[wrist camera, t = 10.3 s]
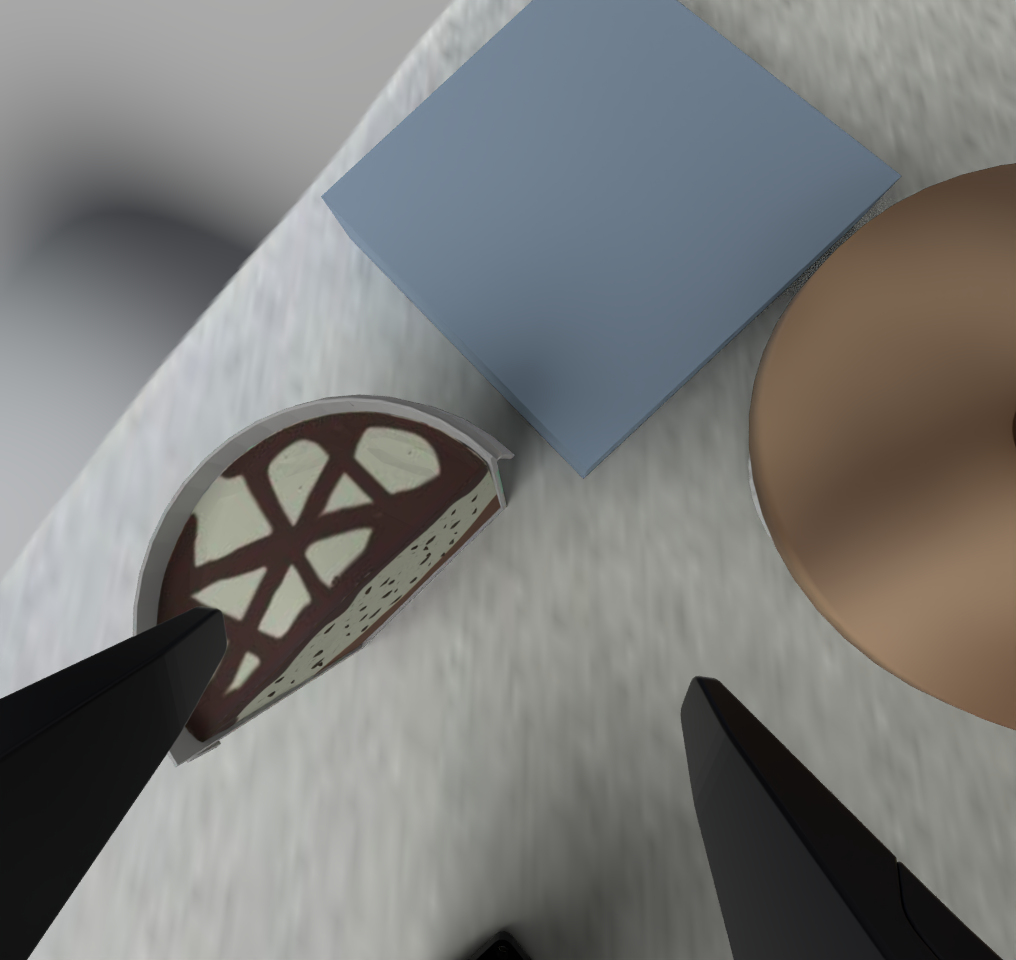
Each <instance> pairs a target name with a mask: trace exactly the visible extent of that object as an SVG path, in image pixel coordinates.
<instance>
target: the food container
mask: <svg viewBox="0 0 1016 960" xmlns="http://www.w3.org/2000/svg"><path fill="white" fill-rule="evenodd" d="M513 457H514V454H513V453H512V452H511V451H509V450H508V449H507V448H506V447H505V446H503V445H502V444H501V443H500V442H499V441H497V440H496V439H495V438H494V437H493V436H491V435H490V434H488V433H486V432H485V431H483V430H481V429H480V428H478V427H476V426H475V425H473V424H472V423H470V422H468V421H467V420H465V419H463V418H460V417H458V416H455V415H453V414H450V413H448V412H445V411H443V410H440V409H438V408H435V407H431V406H427V405H423V404H419V403H414V402H410V401H406V400H401V399H397V398H393V397H385V396H370V395H350V396H338V397H327V398H323V399H319V400H315V401H311V402H307V403H303V404H299V405H296V406H293V407H290V408H286V409H284V410H281V411H279V412H277V413H274V414H272V415H270V416H267V417H265V418H263V419H260V420H258V421H256V422H254V423H253V424H251V425H249V426H248V427H246V428H244V429H243V430H241V431H240V432H238V433H236V434H235V435H233V436H232V437H230V438H228V439H227V440H226V441H225V442H224V443H223V444H221V445H220V446H219V447H218V448H217V449H215V450H214V451H213V452H212V453H211V454H209V455H208V456H207V457H206V458H205V459H204V460H203V461H202V462H201V463H200V464H199V465H198V466H197V468H196V469H195V470H194V471H193V472H192V473H191V474H190V475H189V477H188V478H187V479H186V480H185V481H184V482H183V483H182V485H181V486H180V488H179V489H178V491H177V492H176V494H175V495H174V497H173V498H172V500H171V501H170V503H169V504H168V506H167V507H166V509H165V510H164V512H163V514H162V516H161V518H160V521H159V523H158V525H157V527H156V529H155V531H154V533H153V535H152V537H151V539H150V542H149V545H148V548H147V551H146V554H145V557H144V560H143V564H142V567H141V570H140V573H139V578H138V584H137V590H136V596H135V602H134V611H133V636H135V635H137V634H139V633H142V632H144V631H146V630H148V629H150V628H152V627H154V626H156V625H159V624H161V623H163V622H165V621H167V620H169V619H171V618H173V617H176V616H178V615H180V614H182V613H184V612H186V611H188V610H190V609H193V608H195V607H199V606H203V607H210V608H217V609H219V610H221V611H222V613H223V616H224V623H225V630H226V637H227V648H226V651H225V654H224V656H223V658H222V660H221V662H220V663H219V665H218V667H217V669H216V671H215V673H214V674H213V676H212V678H211V680H210V682H209V684H208V685H207V687H206V689H205V691H204V693H203V694H202V696H201V698H200V700H199V702H198V704H197V705H196V707H195V709H194V711H193V713H192V715H191V716H190V718H189V720H188V722H187V723H186V725H185V727H184V728H183V730H182V732H181V733H180V735H179V737H178V738H177V740H176V741H175V743H174V744H173V746H172V747H171V749H170V750H169V752H168V753H167V754H168V756H169V757H170V759H171V761H172V762H173V764H174V766H175V767H177V766H179V765H180V764H182V763H184V762H185V761H187V763H188V762H190V761H192V760H194V759H196V758H197V757H199V756H201V755H203V754H205V753H207V752H209V751H211V750H213V749H214V748H216V747H217V746H219V745H220V744H221V743H220V741H219V740H220V739H222V738H223V737H225V736H227V735H228V734H230V733H231V732H233V731H234V730H236V729H238V728H239V727H241V726H242V725H244V724H245V723H247V722H248V721H250V720H252V719H253V718H255V717H256V716H258V715H259V714H261V713H262V712H264V711H266V710H267V709H269V708H270V707H272V706H273V705H275V704H277V703H278V702H280V701H281V700H283V699H284V698H286V697H287V696H289V695H291V694H292V693H294V692H295V691H297V690H298V689H300V688H302V687H303V686H305V685H306V684H308V683H309V682H311V681H312V680H314V679H316V678H317V677H319V676H320V675H322V674H323V673H325V672H327V671H328V670H330V669H331V668H333V667H334V666H336V665H337V664H339V663H341V662H342V661H344V660H345V659H347V658H348V657H350V656H352V655H353V654H355V653H356V652H358V651H359V650H361V649H362V648H363V647H364V646H365V645H366V644H367V643H368V642H369V641H370V640H371V639H372V638H373V637H374V636H375V635H376V634H377V633H378V632H379V631H380V630H381V629H382V628H383V627H384V626H385V625H386V624H387V623H388V622H390V621H391V620H392V619H393V618H394V617H395V616H396V615H397V614H398V613H399V612H400V611H401V610H402V609H403V608H404V607H405V606H406V605H407V604H408V603H409V602H410V601H411V600H412V599H413V598H414V597H415V596H416V595H417V594H418V593H419V592H420V591H421V590H422V589H423V588H424V587H425V586H426V585H427V584H428V583H429V582H430V581H431V580H432V579H433V578H434V577H435V576H436V575H437V574H438V573H439V572H441V571H442V570H443V569H444V568H445V567H446V566H447V565H448V564H449V563H450V562H451V561H452V560H453V559H454V558H455V557H456V556H457V555H458V554H459V553H460V552H461V551H462V550H463V549H464V548H465V547H466V546H467V545H468V544H469V543H470V542H471V541H472V540H473V539H474V538H475V537H476V536H477V535H478V534H479V533H480V532H481V531H482V530H483V529H484V528H485V527H486V526H487V525H488V524H489V523H490V522H492V521H493V520H494V519H495V518H496V517H497V516H498V515H499V514H500V513H501V512H502V511H503V510H504V509H505V508H506V507H507V506H506V502H505V497H504V492H503V488H502V483H501V479H500V474H499V470H498V465H497V461H498V460H499V459H512V458H513Z"/></svg>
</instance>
